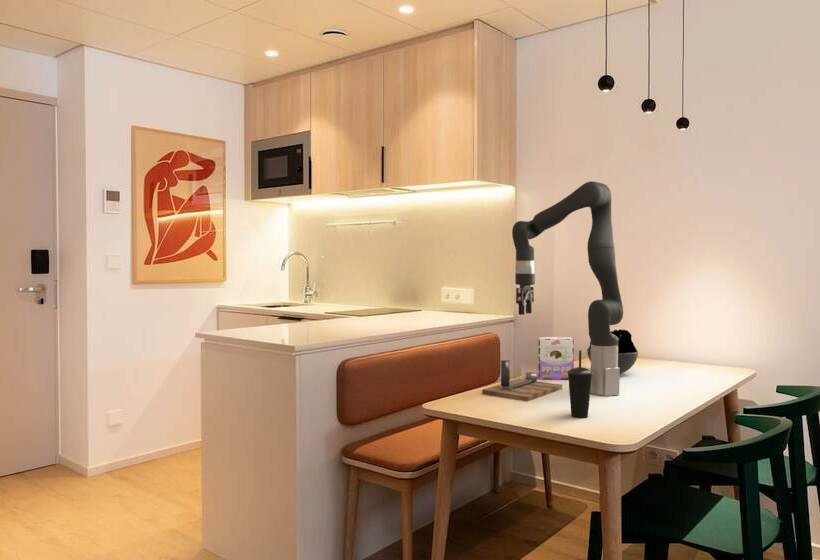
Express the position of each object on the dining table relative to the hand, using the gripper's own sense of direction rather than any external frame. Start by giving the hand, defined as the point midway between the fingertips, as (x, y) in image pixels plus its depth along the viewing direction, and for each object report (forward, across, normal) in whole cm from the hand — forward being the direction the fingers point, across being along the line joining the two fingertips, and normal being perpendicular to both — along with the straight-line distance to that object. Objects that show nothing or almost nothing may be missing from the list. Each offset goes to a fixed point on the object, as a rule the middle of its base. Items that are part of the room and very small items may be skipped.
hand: (525, 314), depth 250 cm
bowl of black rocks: (+26, +29, -27) cm, 48 cm away
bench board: (+26, -21, -6) cm, 34 cm away
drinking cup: (+27, -47, -33) cm, 63 cm away
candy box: (+26, +9, -9) cm, 29 cm away
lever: (+24, -20, -4) cm, 31 cm away
